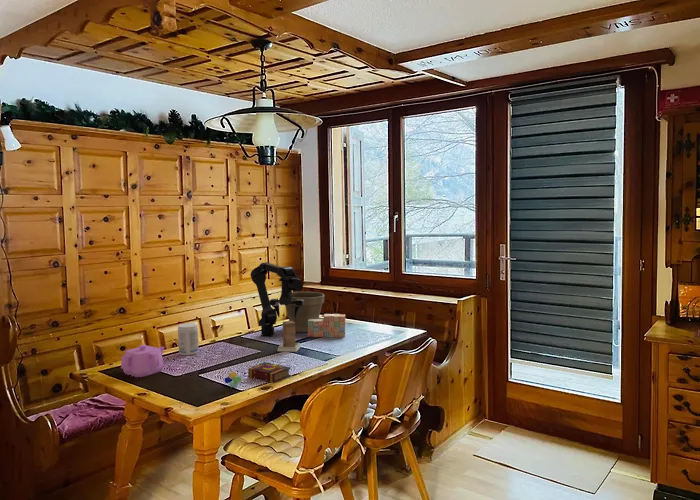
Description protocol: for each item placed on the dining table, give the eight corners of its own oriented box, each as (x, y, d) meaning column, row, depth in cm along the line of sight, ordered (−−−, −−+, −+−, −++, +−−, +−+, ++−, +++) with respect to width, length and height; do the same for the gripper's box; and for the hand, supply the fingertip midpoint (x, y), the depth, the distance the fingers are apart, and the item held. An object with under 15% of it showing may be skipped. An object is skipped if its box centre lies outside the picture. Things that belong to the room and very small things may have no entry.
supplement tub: (197, 350, 281) (197, 322, 280) (199, 354, 272) (198, 326, 271) (178, 351, 278) (177, 323, 276) (179, 356, 269) (178, 327, 267)
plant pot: (307, 323, 344) (307, 289, 342) (332, 329, 326) (332, 294, 324) (275, 329, 327) (274, 294, 326) (299, 336, 309) (299, 299, 307)
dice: (224, 385, 226) (223, 370, 225) (228, 383, 228) (228, 369, 228) (237, 389, 221) (237, 373, 221) (242, 387, 224) (242, 372, 223)
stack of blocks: (307, 336, 309) (307, 315, 308) (308, 334, 315) (308, 313, 314) (344, 337, 308) (344, 316, 307) (345, 334, 314) (345, 313, 313)
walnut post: (282, 346, 284) (282, 321, 283) (291, 344, 286) (291, 320, 285) (286, 348, 280) (286, 323, 278) (295, 347, 282) (295, 322, 281)
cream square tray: (277, 351, 279) (277, 347, 278) (282, 346, 289) (282, 342, 288) (296, 351, 278) (296, 347, 277) (300, 346, 287) (300, 343, 287)
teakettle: (120, 379, 234) (119, 351, 233) (126, 368, 251) (125, 341, 250) (161, 376, 238) (160, 349, 237) (165, 365, 255) (164, 339, 254)
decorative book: (273, 384, 228) (273, 372, 228) (245, 377, 237) (245, 366, 236) (290, 377, 238) (290, 366, 237) (263, 371, 246) (262, 360, 246)
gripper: (266, 291, 291) (266, 320, 292) (300, 292, 289) (300, 321, 290) (271, 288, 302) (272, 316, 303) (304, 289, 300) (304, 316, 301)
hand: (287, 317), depth 299 cm, fingers open, 9 cm apart
